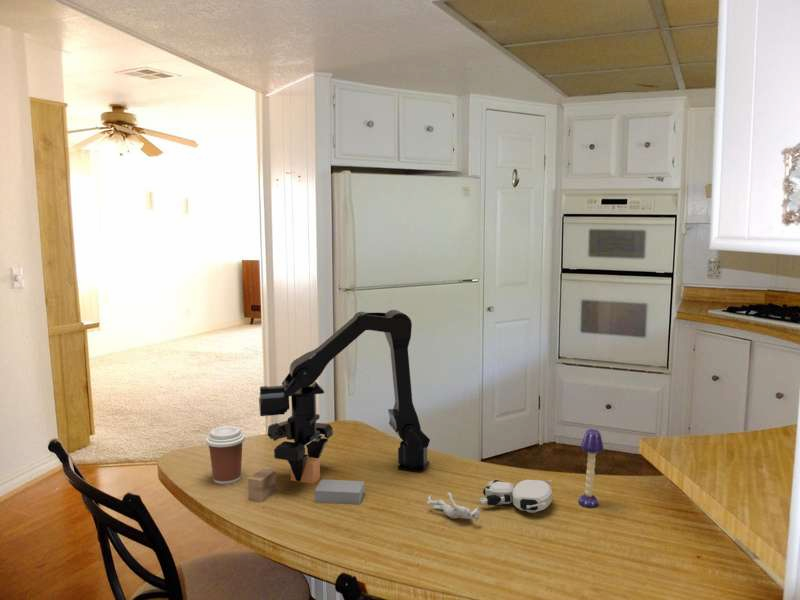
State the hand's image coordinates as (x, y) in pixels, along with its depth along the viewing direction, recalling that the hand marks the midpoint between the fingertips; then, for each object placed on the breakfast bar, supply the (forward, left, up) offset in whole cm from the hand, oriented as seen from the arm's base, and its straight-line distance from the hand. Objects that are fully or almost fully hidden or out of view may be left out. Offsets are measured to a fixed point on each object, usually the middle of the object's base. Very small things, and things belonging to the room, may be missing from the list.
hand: (305, 474), depth 152 cm
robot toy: (-50, -4, -1) cm, 50 cm away
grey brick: (-12, +6, -1) cm, 13 cm away
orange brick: (0, 0, -1) cm, 1 cm away
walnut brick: (+5, +11, -1) cm, 12 cm away
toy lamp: (-65, -9, -1) cm, 66 cm away
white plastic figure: (-38, +7, -1) cm, 39 cm away
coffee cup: (+18, +6, -1) cm, 19 cm away
